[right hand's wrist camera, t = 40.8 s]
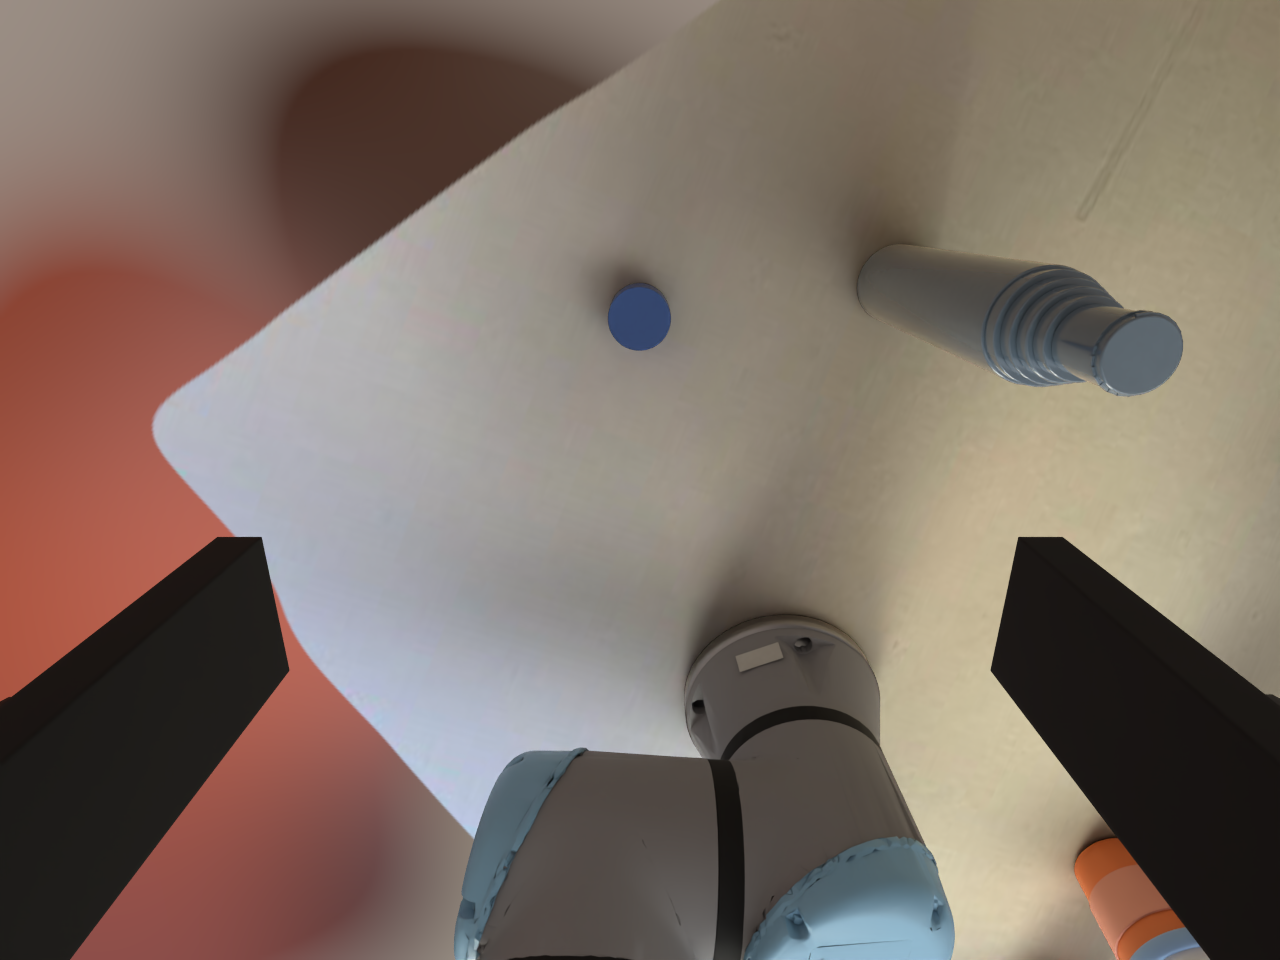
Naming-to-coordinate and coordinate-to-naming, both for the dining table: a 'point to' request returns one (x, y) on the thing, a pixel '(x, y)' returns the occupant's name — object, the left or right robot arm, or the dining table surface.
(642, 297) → the cap
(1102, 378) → the bottle
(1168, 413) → the dining table surface
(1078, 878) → the cup with straw
